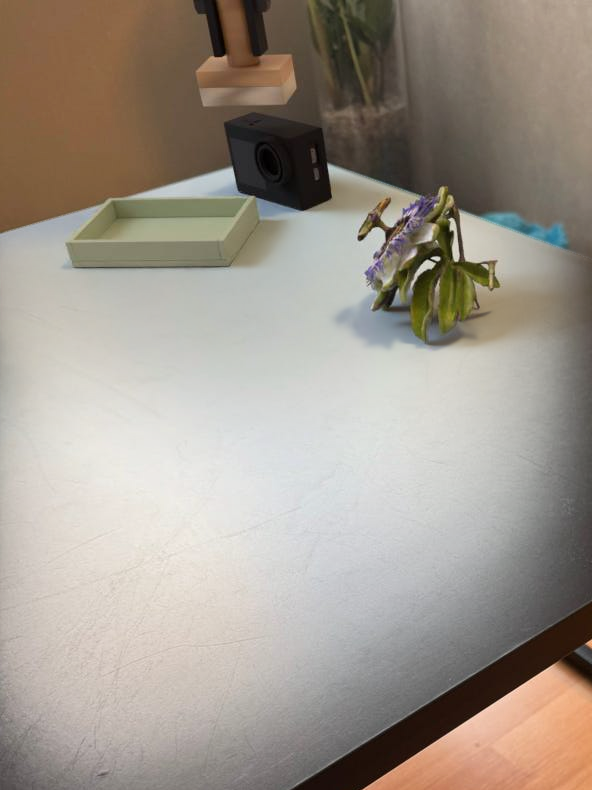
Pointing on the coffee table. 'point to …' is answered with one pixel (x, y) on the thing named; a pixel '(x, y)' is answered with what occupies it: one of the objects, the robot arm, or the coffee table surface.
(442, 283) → the passion flower
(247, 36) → the brush
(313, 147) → the digital camera
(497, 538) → the coffee table surface
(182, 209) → the tray
